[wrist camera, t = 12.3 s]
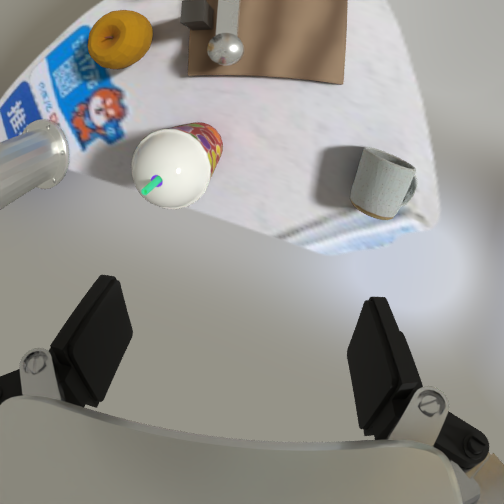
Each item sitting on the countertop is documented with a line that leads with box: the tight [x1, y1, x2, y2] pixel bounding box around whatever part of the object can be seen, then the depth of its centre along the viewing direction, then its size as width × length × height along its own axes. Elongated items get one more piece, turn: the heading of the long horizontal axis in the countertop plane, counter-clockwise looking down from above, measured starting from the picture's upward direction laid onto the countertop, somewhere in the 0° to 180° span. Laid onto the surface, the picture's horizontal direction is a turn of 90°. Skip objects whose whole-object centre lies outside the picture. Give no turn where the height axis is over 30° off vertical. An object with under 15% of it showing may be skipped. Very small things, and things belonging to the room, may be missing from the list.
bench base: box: [181, 0, 347, 85], centre depth 28 cm, size 20×16×7 cm
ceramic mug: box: [350, 147, 417, 220], centre depth 37 cm, size 11×8×8 cm
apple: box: [88, 10, 153, 69], centre depth 29 cm, size 9×8×9 cm
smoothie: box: [131, 123, 223, 209], centre depth 32 cm, size 8×8×20 cm
